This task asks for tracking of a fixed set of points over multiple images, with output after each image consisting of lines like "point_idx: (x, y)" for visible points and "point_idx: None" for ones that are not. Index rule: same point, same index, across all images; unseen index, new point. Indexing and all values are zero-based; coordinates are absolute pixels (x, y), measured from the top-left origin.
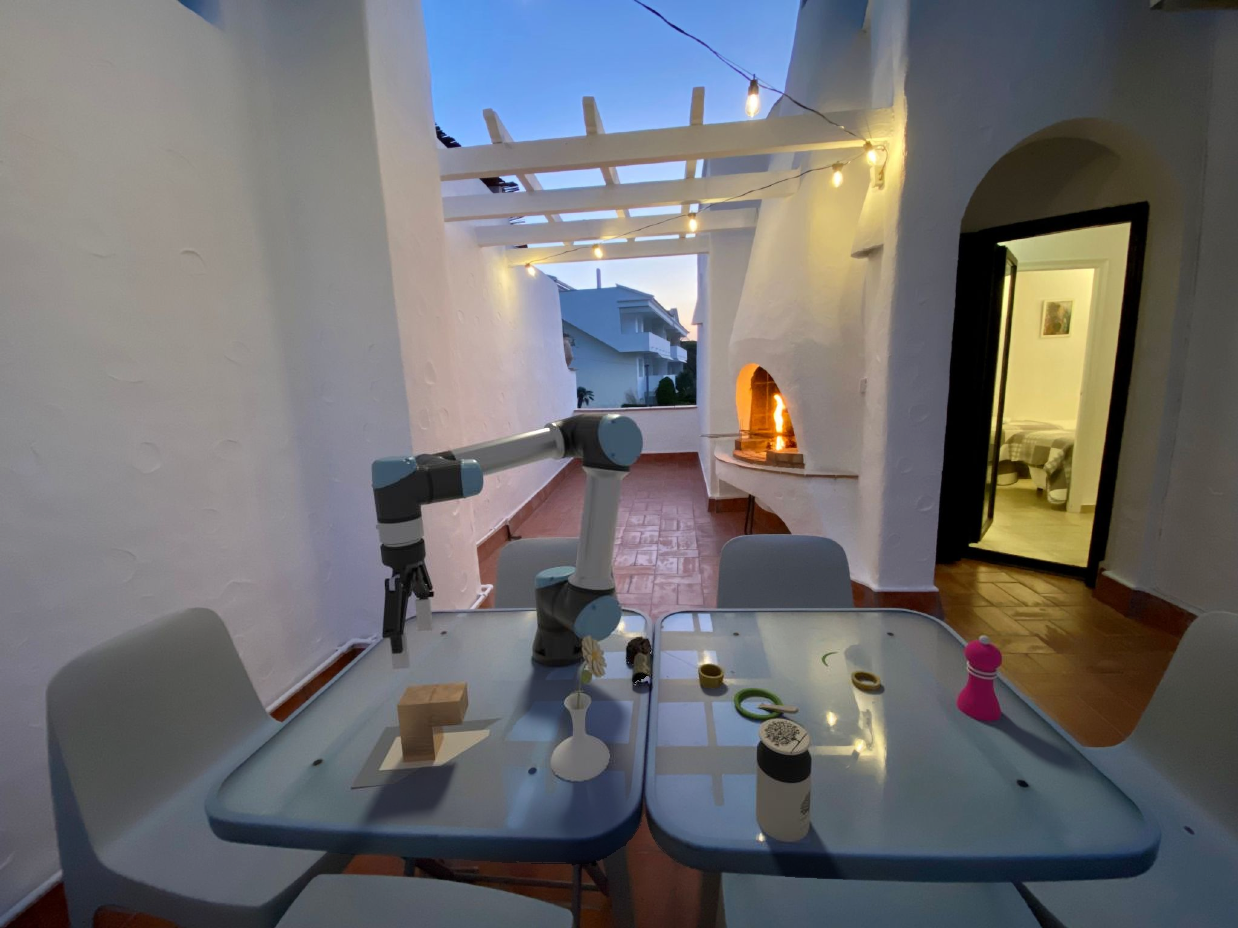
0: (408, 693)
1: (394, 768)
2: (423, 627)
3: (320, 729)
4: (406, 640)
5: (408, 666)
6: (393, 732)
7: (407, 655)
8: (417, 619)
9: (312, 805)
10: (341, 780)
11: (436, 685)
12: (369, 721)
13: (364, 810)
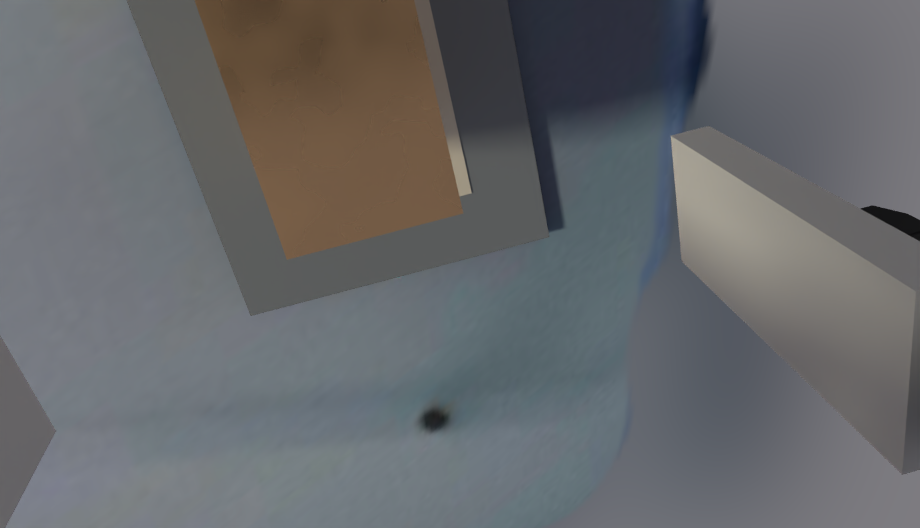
0: (350, 216)
1: (457, 140)
2: (17, 405)
3: (294, 520)
4: (859, 230)
5: (714, 130)
6: (273, 267)
7: (772, 162)
8: (3, 520)
9: (596, 309)
10: (499, 296)
11: (239, 87)
12: (216, 401)
13: (610, 138)
